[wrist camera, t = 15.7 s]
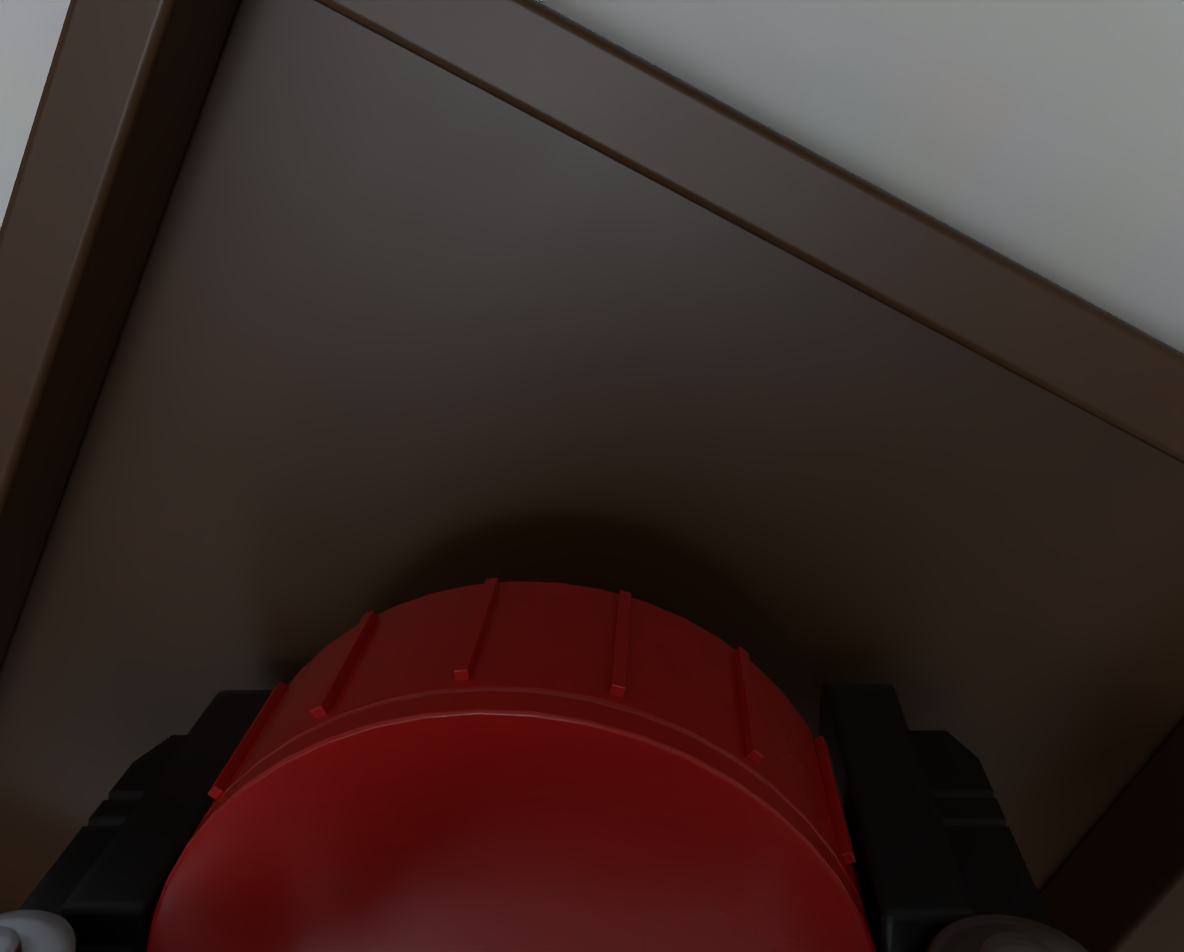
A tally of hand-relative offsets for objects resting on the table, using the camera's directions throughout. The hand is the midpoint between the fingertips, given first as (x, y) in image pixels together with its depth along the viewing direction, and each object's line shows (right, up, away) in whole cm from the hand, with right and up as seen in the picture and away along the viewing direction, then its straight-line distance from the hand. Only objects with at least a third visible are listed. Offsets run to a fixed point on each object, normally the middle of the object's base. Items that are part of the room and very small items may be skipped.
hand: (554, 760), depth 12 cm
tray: (0, 0, +1) cm, 1 cm away
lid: (0, -1, -3) cm, 3 cm away
